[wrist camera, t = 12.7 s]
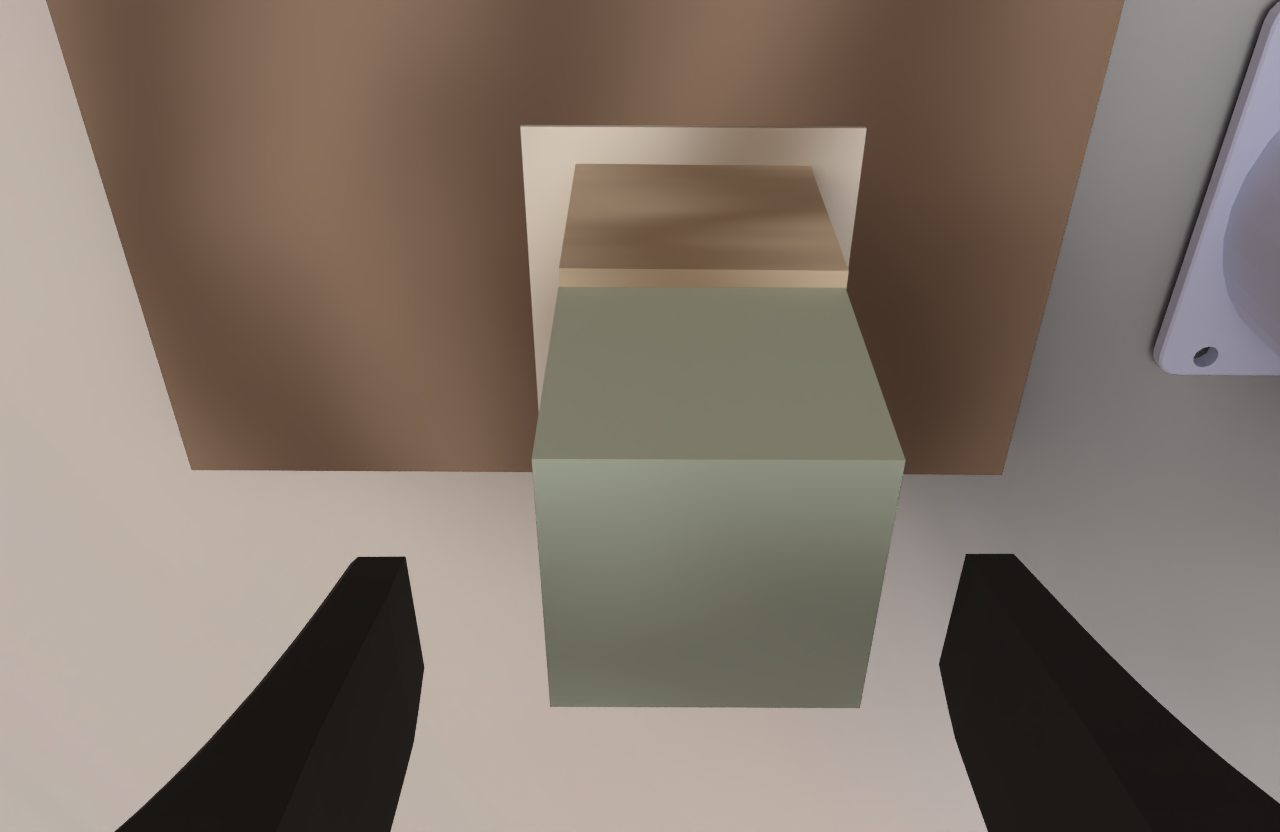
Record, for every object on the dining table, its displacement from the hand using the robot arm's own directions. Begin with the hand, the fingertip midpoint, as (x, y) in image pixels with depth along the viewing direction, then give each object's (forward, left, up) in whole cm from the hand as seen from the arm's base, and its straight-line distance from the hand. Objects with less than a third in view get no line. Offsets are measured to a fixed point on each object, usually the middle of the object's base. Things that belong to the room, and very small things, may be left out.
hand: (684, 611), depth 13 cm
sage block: (0, 0, -5) cm, 5 cm away
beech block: (0, 0, -9) cm, 9 cm away
